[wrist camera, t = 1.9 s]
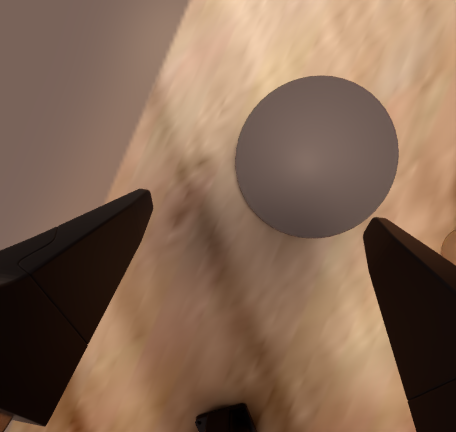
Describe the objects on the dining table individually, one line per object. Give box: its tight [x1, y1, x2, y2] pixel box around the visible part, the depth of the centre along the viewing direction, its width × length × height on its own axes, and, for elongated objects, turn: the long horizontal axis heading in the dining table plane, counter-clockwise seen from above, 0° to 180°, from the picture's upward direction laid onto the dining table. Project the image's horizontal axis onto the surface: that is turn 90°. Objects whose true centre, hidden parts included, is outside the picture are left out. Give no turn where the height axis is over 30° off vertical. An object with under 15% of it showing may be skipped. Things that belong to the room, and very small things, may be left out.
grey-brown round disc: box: [235, 76, 399, 238], centre depth 23 cm, size 15×15×2 cm
